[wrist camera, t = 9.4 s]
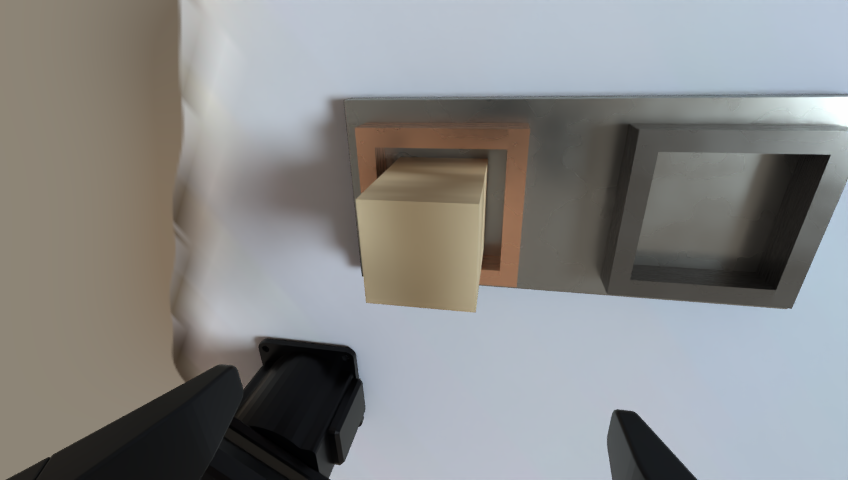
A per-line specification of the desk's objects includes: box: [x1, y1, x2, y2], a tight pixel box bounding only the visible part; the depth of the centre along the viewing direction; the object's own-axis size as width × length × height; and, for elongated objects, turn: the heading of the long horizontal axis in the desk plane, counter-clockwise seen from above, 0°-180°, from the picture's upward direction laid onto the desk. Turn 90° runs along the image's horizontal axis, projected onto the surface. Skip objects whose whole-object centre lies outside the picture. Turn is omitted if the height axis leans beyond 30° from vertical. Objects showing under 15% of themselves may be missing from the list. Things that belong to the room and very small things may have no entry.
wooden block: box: [356, 157, 488, 312], centre depth 16 cm, size 4×4×6 cm
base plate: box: [344, 94, 848, 309], centre depth 18 cm, size 20×9×2 cm, turn 91°
